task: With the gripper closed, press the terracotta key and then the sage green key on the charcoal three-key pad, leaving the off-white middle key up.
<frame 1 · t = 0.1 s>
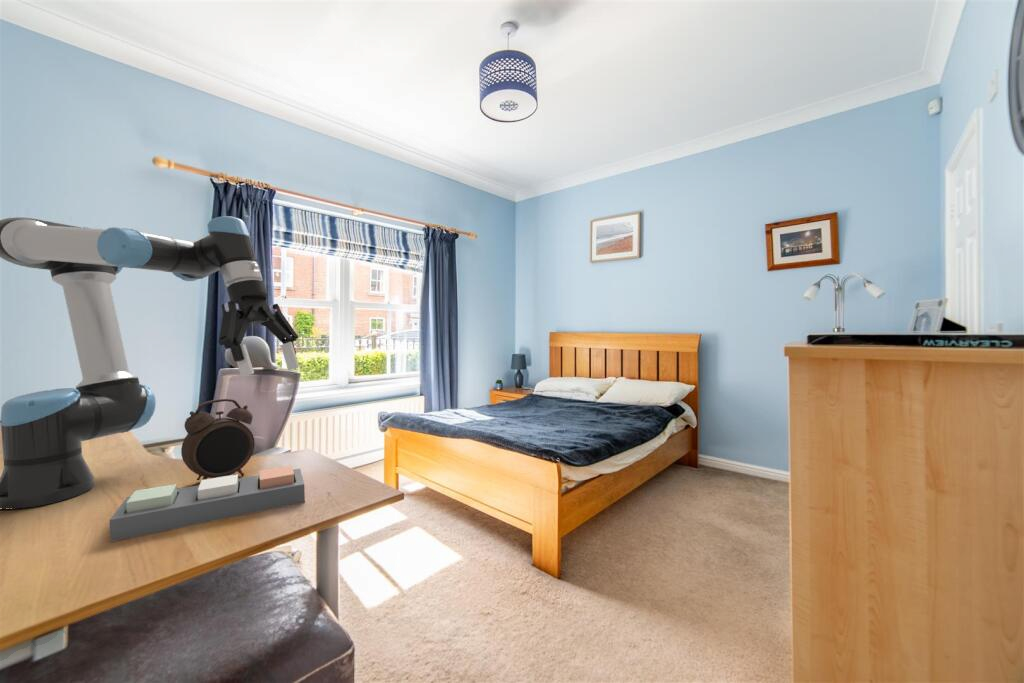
hand: (272, 371, 94), 28 cm above the table, tool tilted 20°, fingers open, 13 cm apart
key terracotta: (276, 479, 91), point 4 cm above the table, slide at 0.0 cm
keypad: (219, 509, 86), on the table
key offwhite: (219, 489, 86), point 4 cm above the table, slide at 0.0 cm
key sage: (153, 500, 80), point 4 cm above the table, slide at 0.0 cm
alarm clock: (221, 480, 102), on the table
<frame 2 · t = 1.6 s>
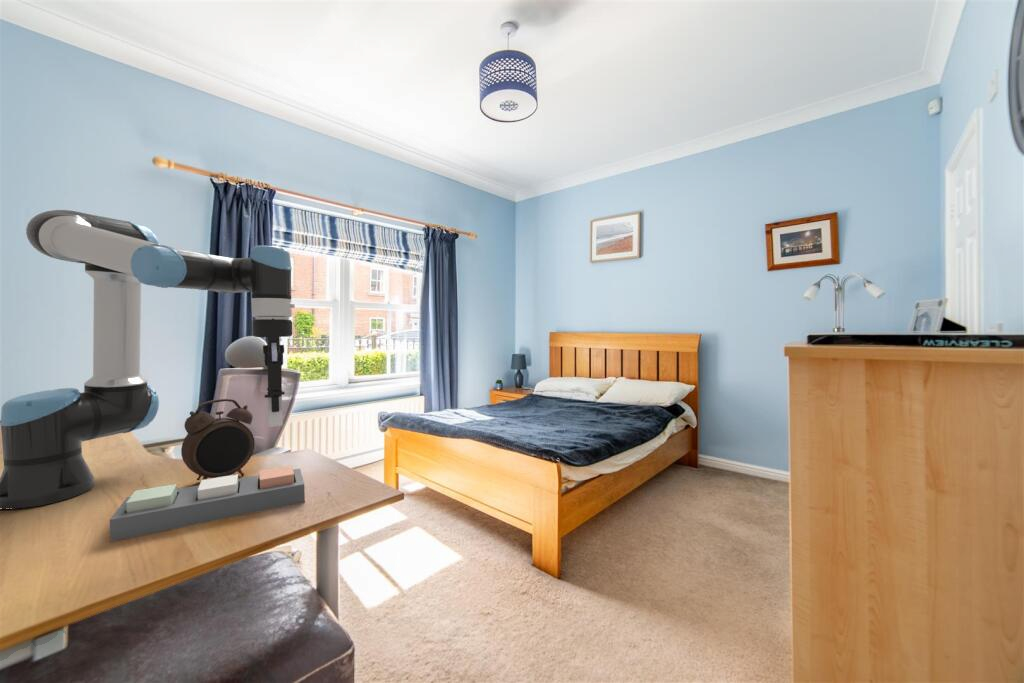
hand: (275, 425, 91), 16 cm above the table, tool pointing down, fingers closed
nothing on the table moved.
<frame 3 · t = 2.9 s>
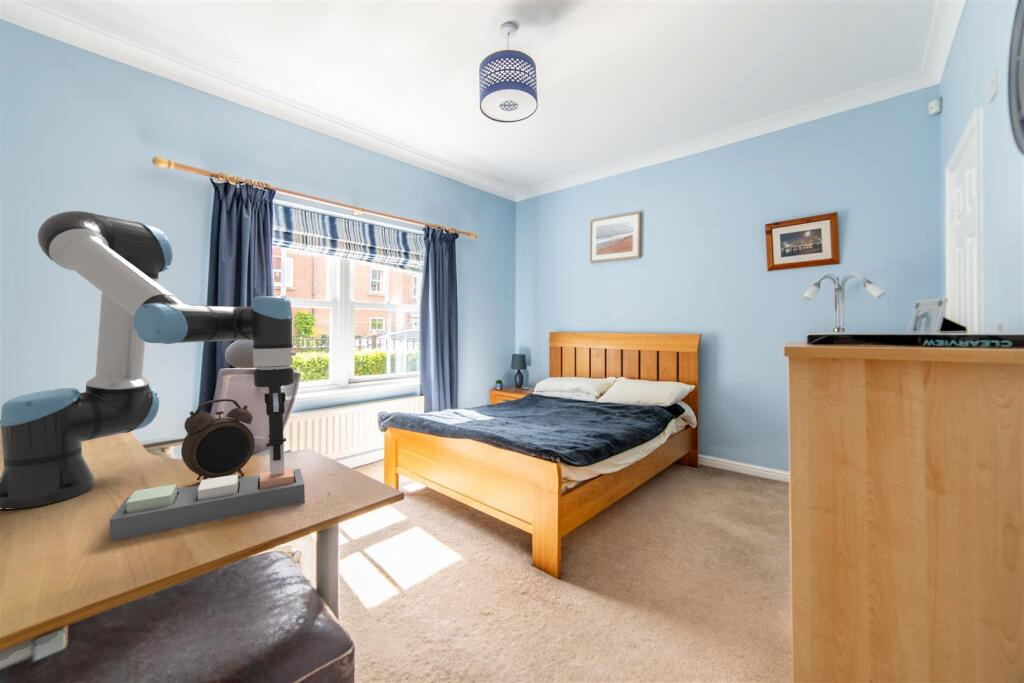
hand: (277, 473, 91), 6 cm above the table, tool pointing down, fingers closed
key terracotta: (276, 480, 91), point 4 cm above the table, slide at 0.4 cm, touching gripper
everything else where it was.
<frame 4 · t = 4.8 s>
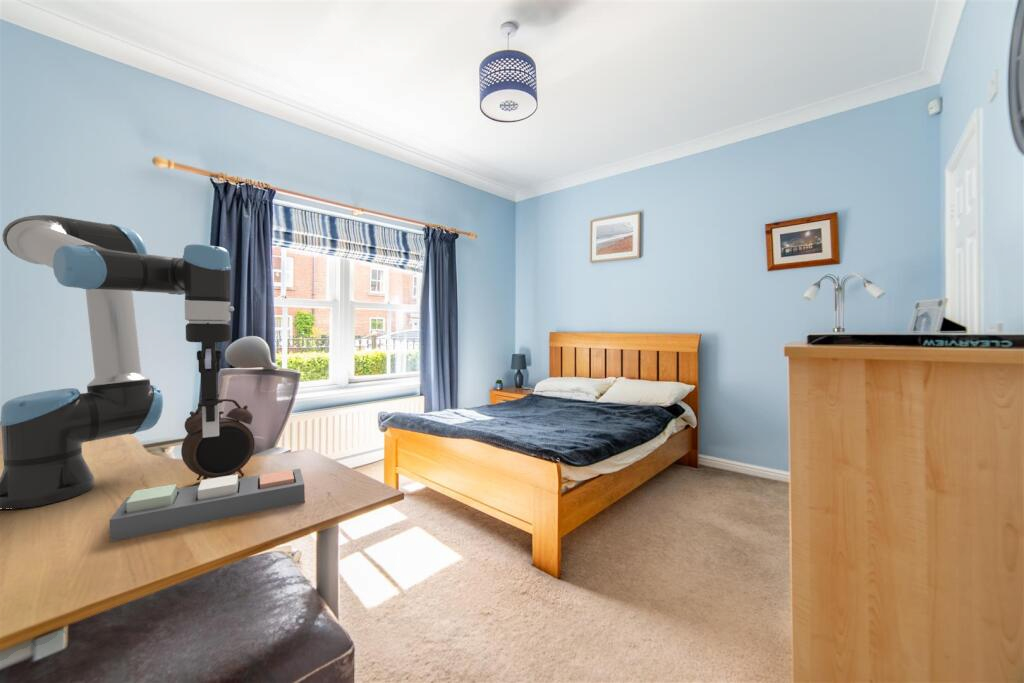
hand: (211, 435, 85), 16 cm above the table, tool pointing down, fingers closed
key terracotta: (276, 483, 91), point 3 cm above the table, slide at 1.0 cm
everything else where it was.
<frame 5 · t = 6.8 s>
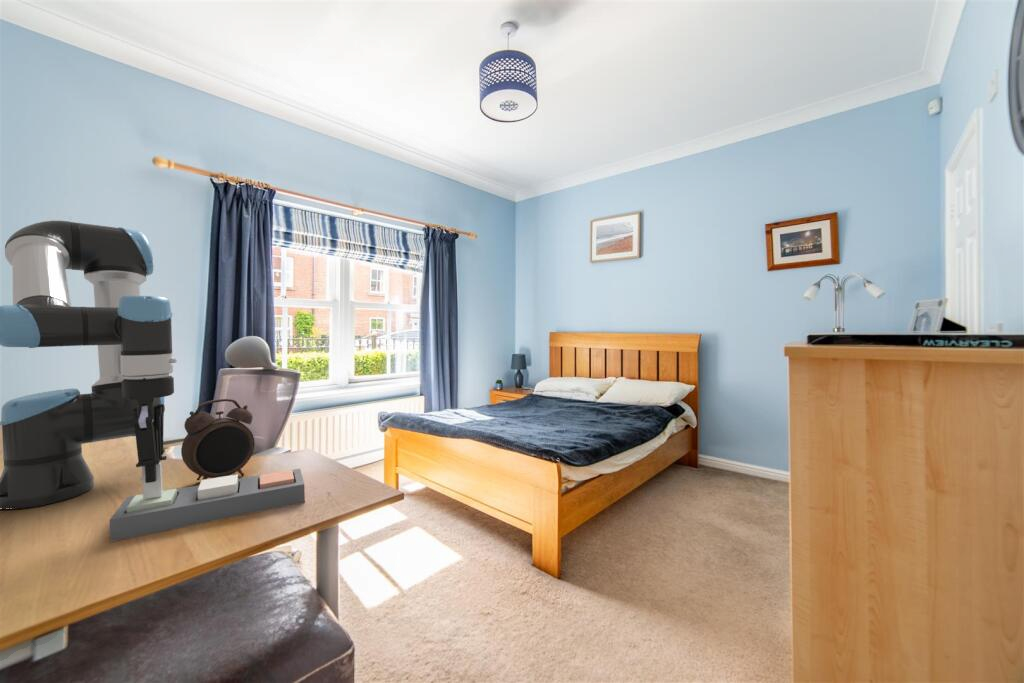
hand: (153, 496, 80), 5 cm above the table, tool pointing down, fingers closed
key sage: (153, 505, 80), point 3 cm above the table, slide at 0.9 cm, touching gripper
everything else where it was.
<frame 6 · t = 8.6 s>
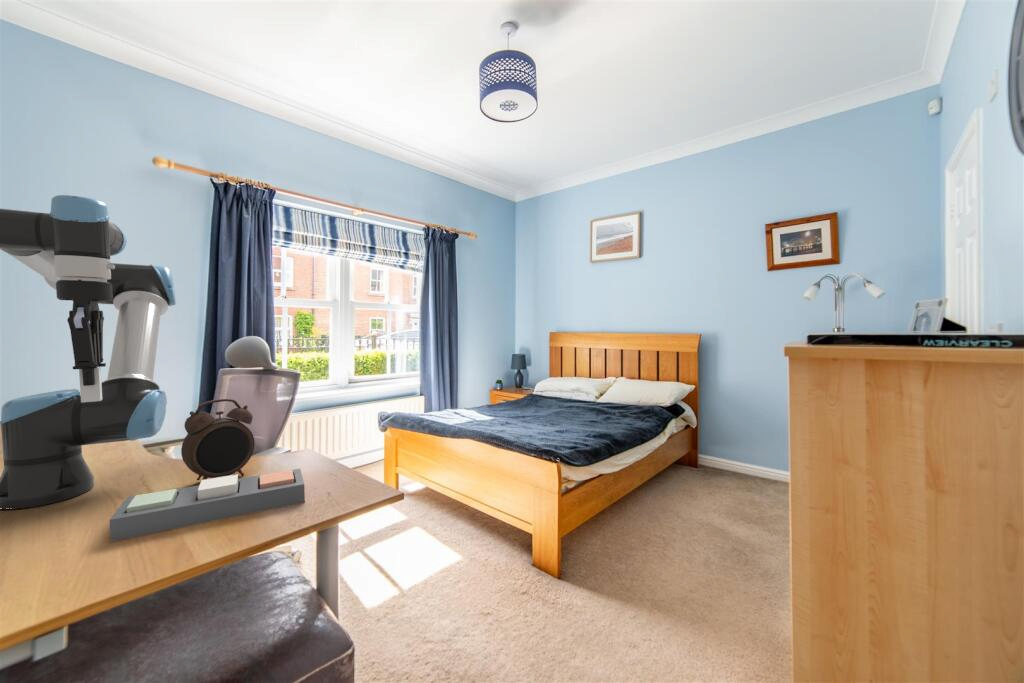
hand: (91, 400, 81), 24 cm above the table, tool pointing down, fingers closed
key sage: (153, 505, 80), point 3 cm above the table, slide at 1.0 cm
everything else where it was.
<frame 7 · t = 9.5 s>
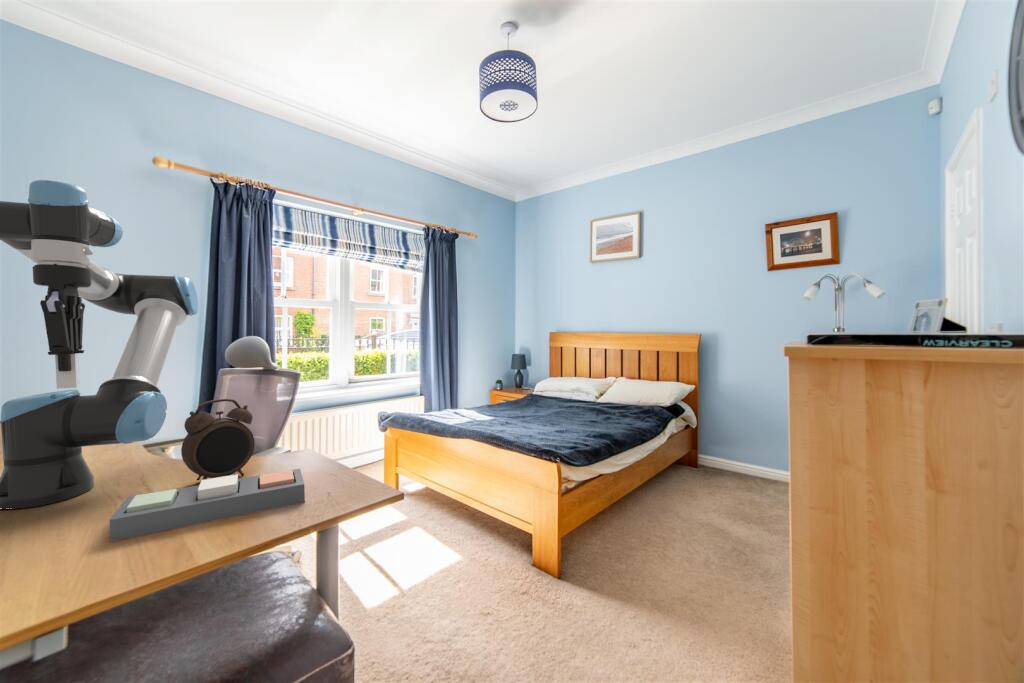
hand: (68, 387, 80), 26 cm above the table, tool pointing down, fingers closed
nothing on the table moved.
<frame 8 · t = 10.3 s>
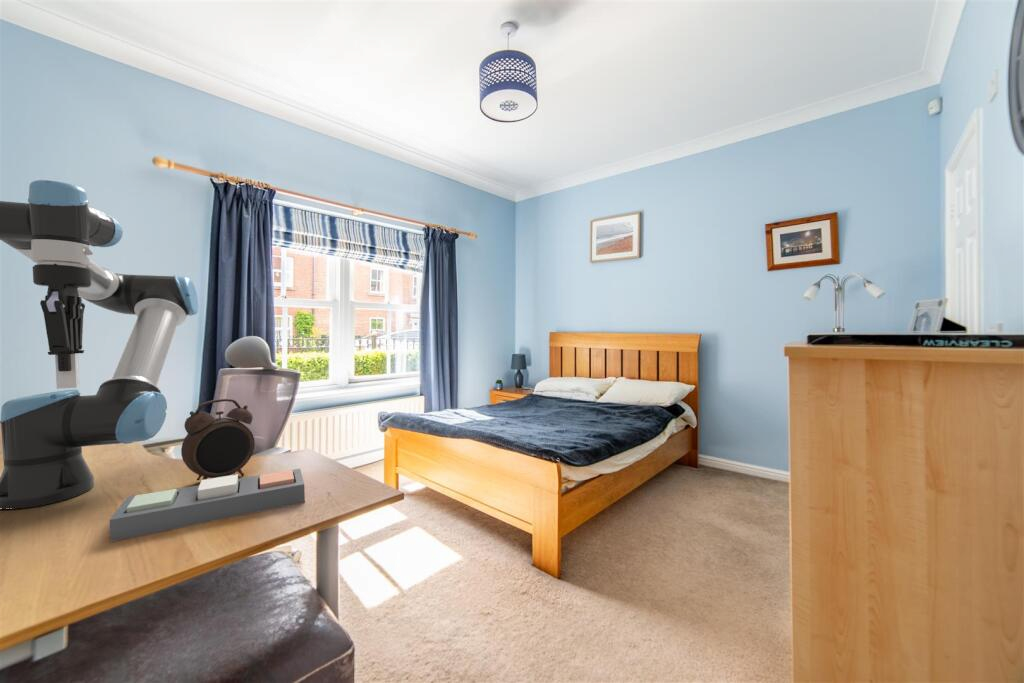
hand: (68, 387, 80), 26 cm above the table, tool pointing down, fingers closed
nothing on the table moved.
at the end: key terracotta slide at 1.0 cm; key sage slide at 1.0 cm; key offwhite slide at 0.0 cm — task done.
